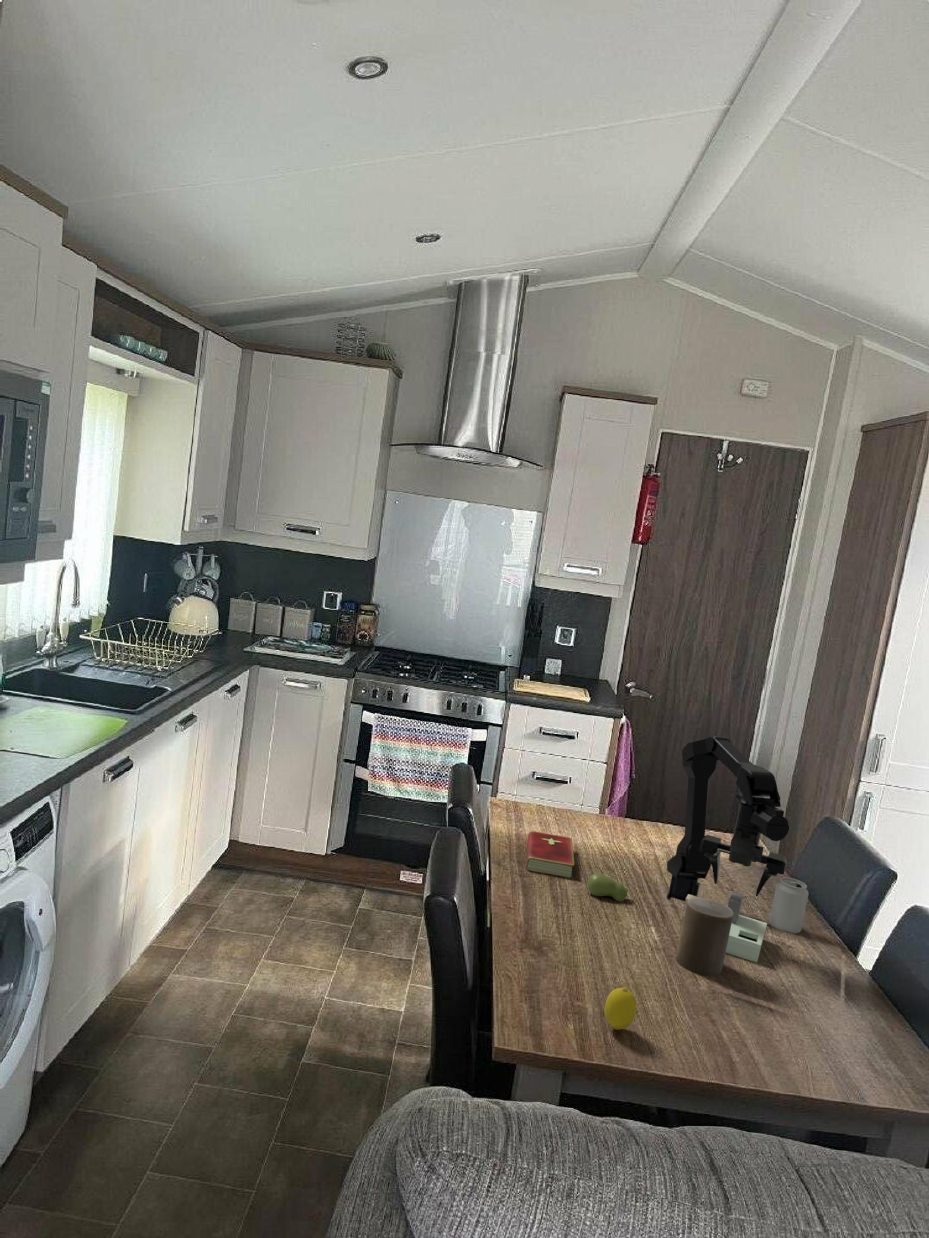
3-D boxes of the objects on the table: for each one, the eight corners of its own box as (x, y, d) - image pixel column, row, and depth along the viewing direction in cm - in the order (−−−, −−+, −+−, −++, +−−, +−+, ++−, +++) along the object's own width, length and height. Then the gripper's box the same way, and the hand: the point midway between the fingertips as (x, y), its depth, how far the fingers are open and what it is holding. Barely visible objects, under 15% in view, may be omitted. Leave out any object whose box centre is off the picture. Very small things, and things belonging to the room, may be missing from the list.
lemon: (598, 1019, 170) (605, 978, 169) (627, 1022, 170) (635, 981, 169) (605, 1036, 164) (613, 994, 163) (635, 1040, 165) (643, 997, 164)
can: (802, 939, 221) (812, 891, 220) (770, 931, 223) (779, 883, 221) (797, 926, 229) (807, 879, 227) (766, 919, 230) (775, 873, 229)
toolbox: (709, 951, 206) (713, 934, 206) (718, 929, 219) (721, 913, 218) (756, 966, 202) (759, 949, 202) (762, 943, 215) (765, 926, 215)
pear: (590, 867, 231) (629, 880, 231) (583, 886, 232) (622, 900, 231) (592, 875, 225) (631, 889, 225) (585, 895, 226) (624, 909, 226)
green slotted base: (713, 934, 206) (718, 909, 205) (722, 913, 218) (726, 889, 218) (760, 949, 202) (765, 923, 201) (766, 927, 215) (771, 902, 214)
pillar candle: (695, 982, 191) (710, 912, 189) (665, 958, 199) (678, 892, 197) (730, 978, 195) (745, 910, 194) (699, 955, 204) (713, 890, 202)
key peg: (678, 935, 212) (685, 898, 211) (681, 931, 215) (688, 894, 214) (691, 939, 211) (699, 902, 210) (694, 935, 214) (701, 897, 213)
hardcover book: (525, 871, 237) (527, 855, 237) (526, 843, 258) (529, 829, 258) (571, 880, 237) (574, 864, 236) (569, 851, 257) (572, 836, 257)
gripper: (702, 821, 208) (689, 888, 210) (789, 845, 201) (775, 913, 202) (709, 810, 218) (697, 873, 220) (792, 832, 211) (779, 897, 213)
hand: (736, 889), depth 213 cm, fingers open, 9 cm apart
